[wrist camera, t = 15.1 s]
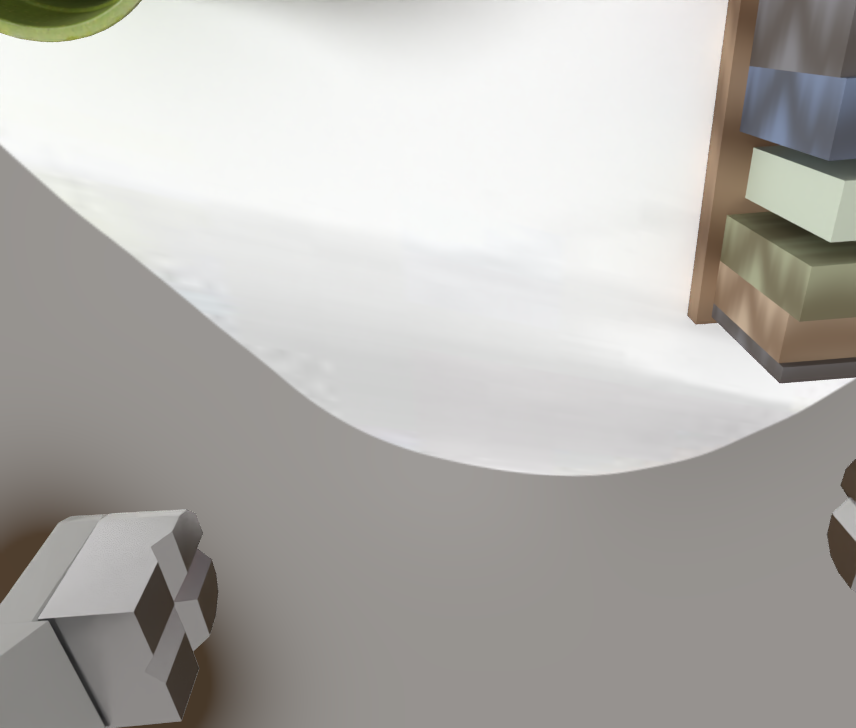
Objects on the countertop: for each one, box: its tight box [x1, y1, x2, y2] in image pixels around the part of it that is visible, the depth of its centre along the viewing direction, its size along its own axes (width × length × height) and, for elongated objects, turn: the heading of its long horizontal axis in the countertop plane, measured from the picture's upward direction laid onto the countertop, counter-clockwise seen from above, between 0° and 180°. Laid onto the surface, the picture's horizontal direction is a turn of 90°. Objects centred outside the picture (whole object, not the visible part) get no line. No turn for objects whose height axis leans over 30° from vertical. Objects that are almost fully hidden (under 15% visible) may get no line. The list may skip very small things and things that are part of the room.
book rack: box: [687, 0, 856, 383], centre depth 34 cm, size 24×10×11 cm, turn 4°
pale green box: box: [745, 145, 856, 243], centre depth 34 cm, size 3×6×9 cm, turn 94°
